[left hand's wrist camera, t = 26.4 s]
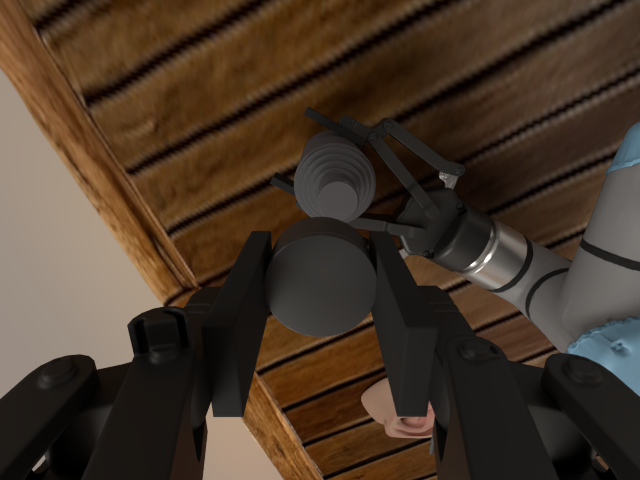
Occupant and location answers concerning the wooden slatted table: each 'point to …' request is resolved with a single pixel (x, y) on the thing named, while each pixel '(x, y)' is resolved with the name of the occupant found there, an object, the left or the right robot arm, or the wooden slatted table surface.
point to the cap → (320, 277)
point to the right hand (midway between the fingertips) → (289, 145)
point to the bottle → (334, 178)
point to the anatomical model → (384, 412)
